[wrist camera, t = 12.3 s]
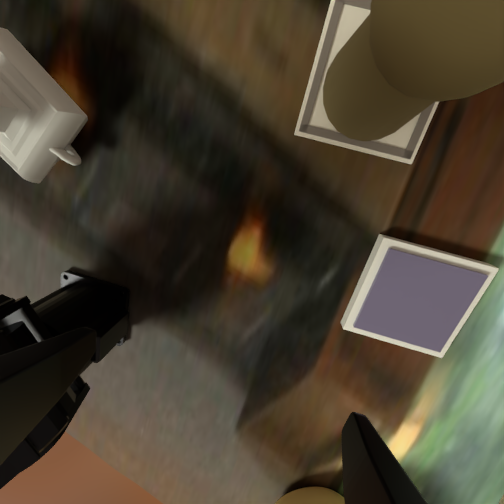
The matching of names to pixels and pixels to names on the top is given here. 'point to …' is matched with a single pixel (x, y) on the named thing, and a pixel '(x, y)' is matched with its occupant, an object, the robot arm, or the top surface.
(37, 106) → the stamp
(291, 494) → the sculpture
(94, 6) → the top surface
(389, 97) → the brown peg figure
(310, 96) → the white flat square piece
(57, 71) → the top surface
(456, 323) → the ink pad
